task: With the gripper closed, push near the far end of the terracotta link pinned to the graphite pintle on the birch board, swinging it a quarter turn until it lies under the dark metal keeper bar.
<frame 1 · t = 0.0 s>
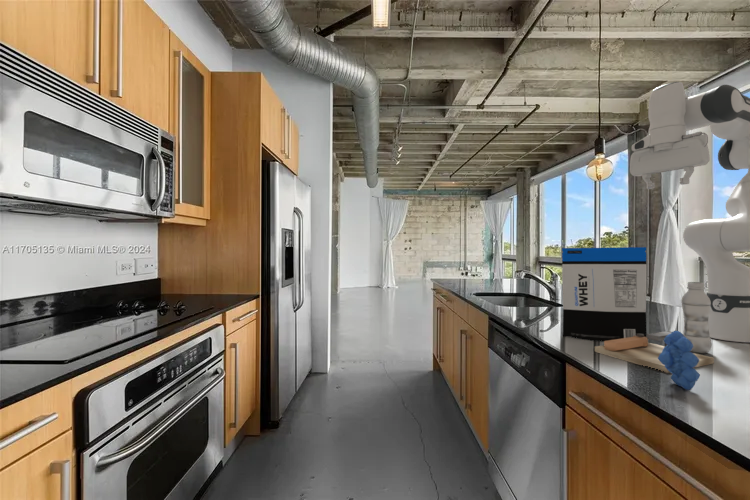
hand: (666, 186, 114), 48 cm above the worktop, fingers open, 8 cm apart
plastic bottle: (696, 353, 110), on the worktop
grapes: (675, 386, 86), on the worktop
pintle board: (650, 357, 106), on the worktop
link: (626, 343, 110), point 3 cm above the worktop, hinge at 0.0°
protein powder: (603, 338, 128), on the worktop
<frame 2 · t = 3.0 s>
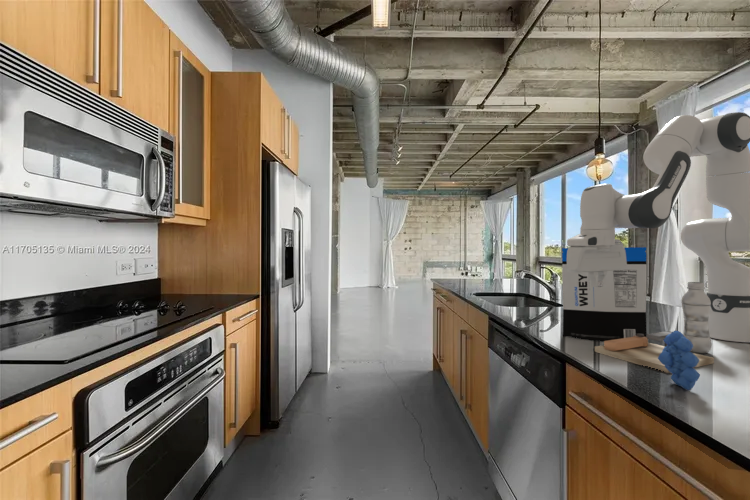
hand: (597, 286, 113), 19 cm above the worktop, fingers closed
nothing on the worktop moved.
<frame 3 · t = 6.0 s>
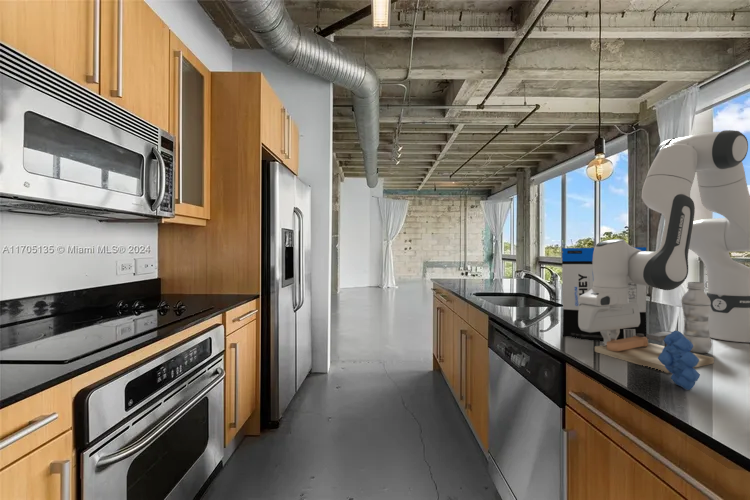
hand: (610, 344, 110), 3 cm above the worktop, fingers closed, pressing on link
link: (627, 343, 110), point 3 cm above the worktop, hinge at 3.6°, touching gripper
everything else where it was.
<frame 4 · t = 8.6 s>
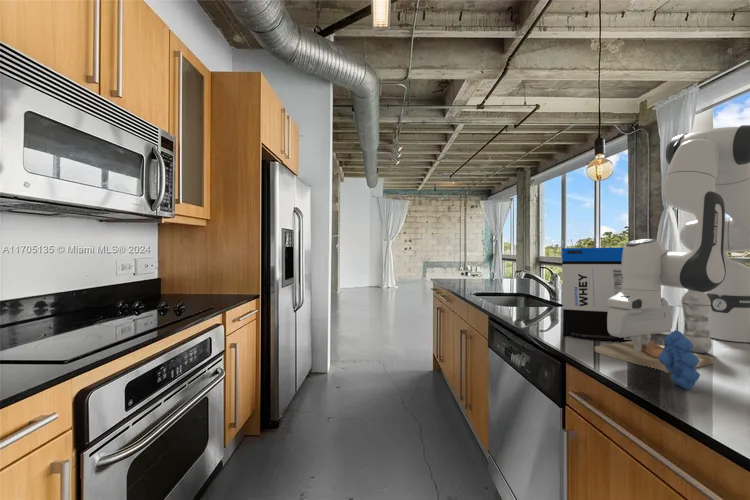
hand: (640, 350, 104), 3 cm above the worktop, fingers closed
link: (648, 346, 106), point 3 cm above the worktop, hinge at 54.4°, touching gripper
everything else where it was.
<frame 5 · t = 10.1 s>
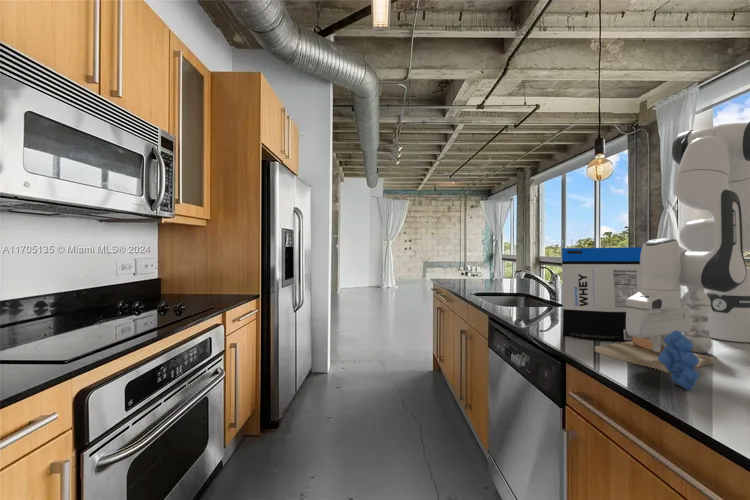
hand: (659, 351, 103), 3 cm above the worktop, fingers closed
link: (657, 346, 106), point 3 cm above the worktop, hinge at 77.4°, touching gripper
everything else where it was.
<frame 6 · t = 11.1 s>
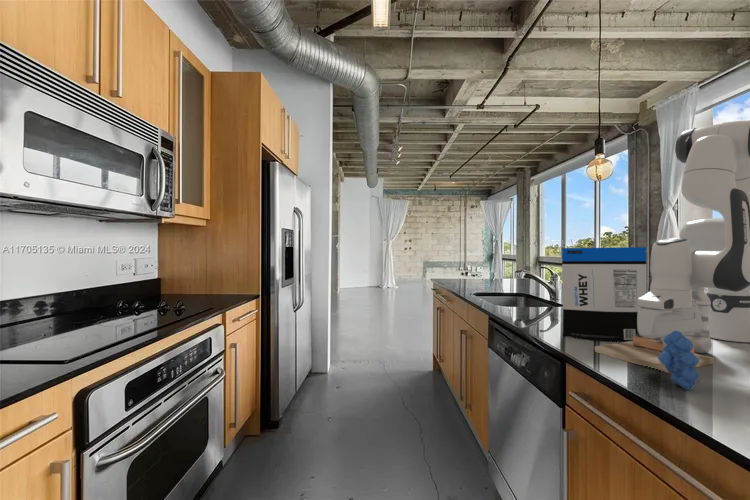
hand: (670, 351, 102), 3 cm above the worktop, fingers closed
link: (661, 345, 107), point 3 cm above the worktop, hinge at 91.5°, touching gripper
everything else where it was.
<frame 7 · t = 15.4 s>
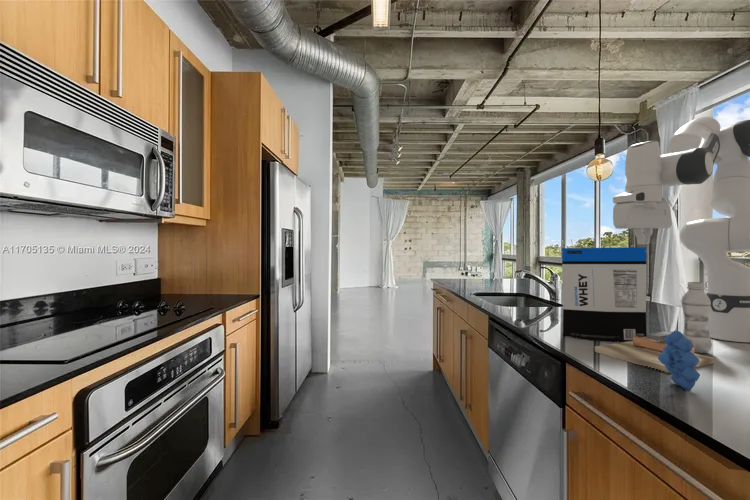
hand: (643, 244, 113), 31 cm above the worktop, fingers closed
link: (661, 345, 107), point 3 cm above the worktop, hinge at 91.8°
everything else where it was.
at the end: link at +92° (first picture: +0°); protein powder moved 0.2 cm from its start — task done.
